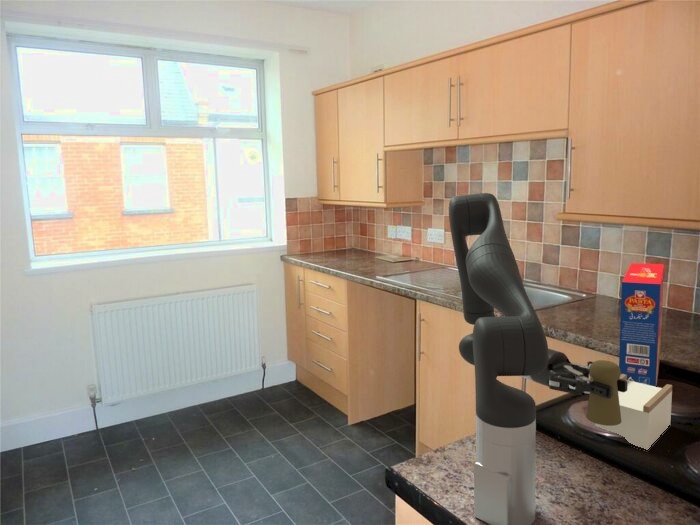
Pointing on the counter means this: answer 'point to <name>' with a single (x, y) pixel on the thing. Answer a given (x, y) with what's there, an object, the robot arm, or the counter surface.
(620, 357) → the pasta box
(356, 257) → the counter surface
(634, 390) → the display stand
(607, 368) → the olive green pawn
